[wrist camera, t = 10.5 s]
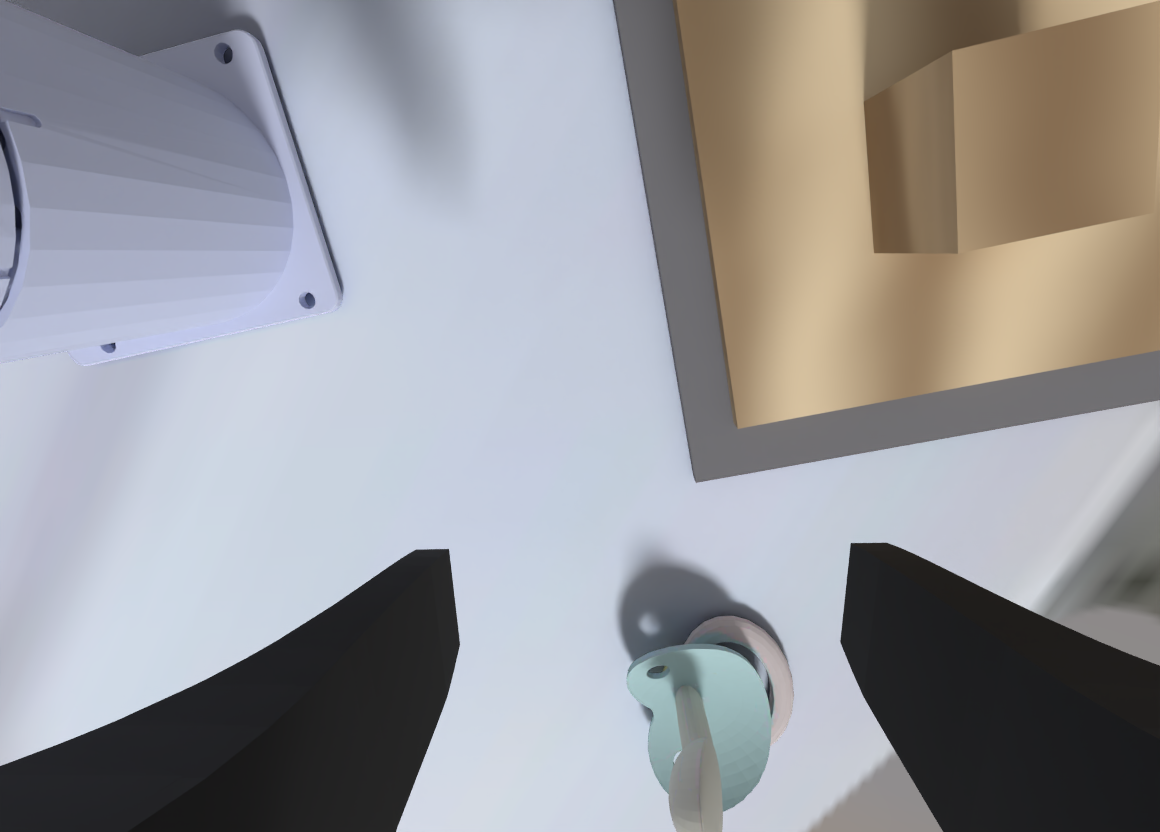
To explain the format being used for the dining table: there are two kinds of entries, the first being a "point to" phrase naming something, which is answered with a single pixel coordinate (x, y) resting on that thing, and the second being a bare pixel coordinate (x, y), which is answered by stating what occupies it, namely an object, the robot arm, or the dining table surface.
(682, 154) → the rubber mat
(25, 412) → the dining table surface
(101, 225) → the robot arm
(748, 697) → the pacifier
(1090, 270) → the oak lid
